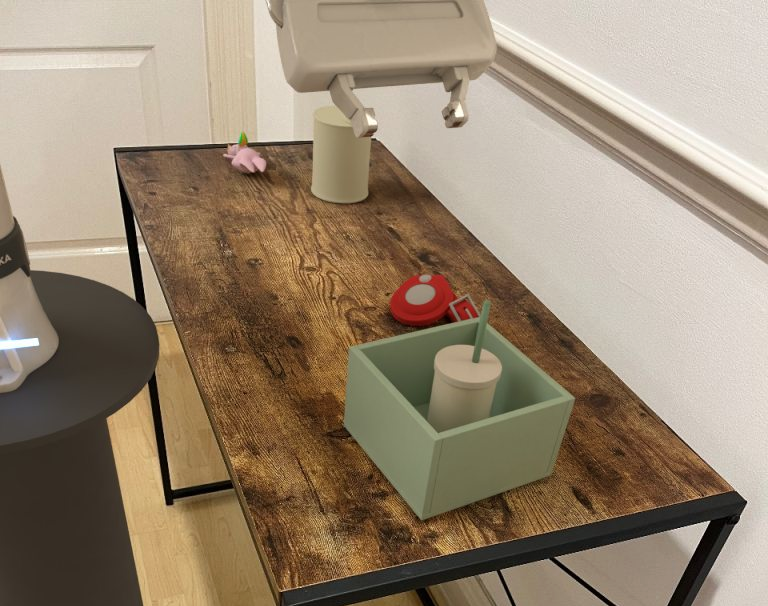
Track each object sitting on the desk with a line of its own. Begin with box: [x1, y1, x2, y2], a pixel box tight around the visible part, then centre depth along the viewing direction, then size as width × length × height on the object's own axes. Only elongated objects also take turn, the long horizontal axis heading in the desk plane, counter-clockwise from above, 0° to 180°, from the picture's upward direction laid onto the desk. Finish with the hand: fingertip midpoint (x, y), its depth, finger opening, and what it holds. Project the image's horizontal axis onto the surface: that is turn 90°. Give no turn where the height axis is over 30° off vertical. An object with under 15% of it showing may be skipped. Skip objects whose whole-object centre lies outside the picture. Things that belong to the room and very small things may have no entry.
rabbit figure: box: [222, 131, 267, 175], centre depth 126 cm, size 6×6×15 cm
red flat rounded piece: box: [389, 274, 481, 327], centre depth 99 cm, size 12×4×10 cm
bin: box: [343, 317, 576, 521], centre depth 77 cm, size 16×16×10 cm
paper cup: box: [427, 299, 502, 434], centre depth 74 cm, size 6×6×16 cm
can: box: [310, 105, 372, 205], centre depth 121 cm, size 9×9×12 cm
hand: (414, 129), depth 69 cm, fingers open, 8 cm apart
